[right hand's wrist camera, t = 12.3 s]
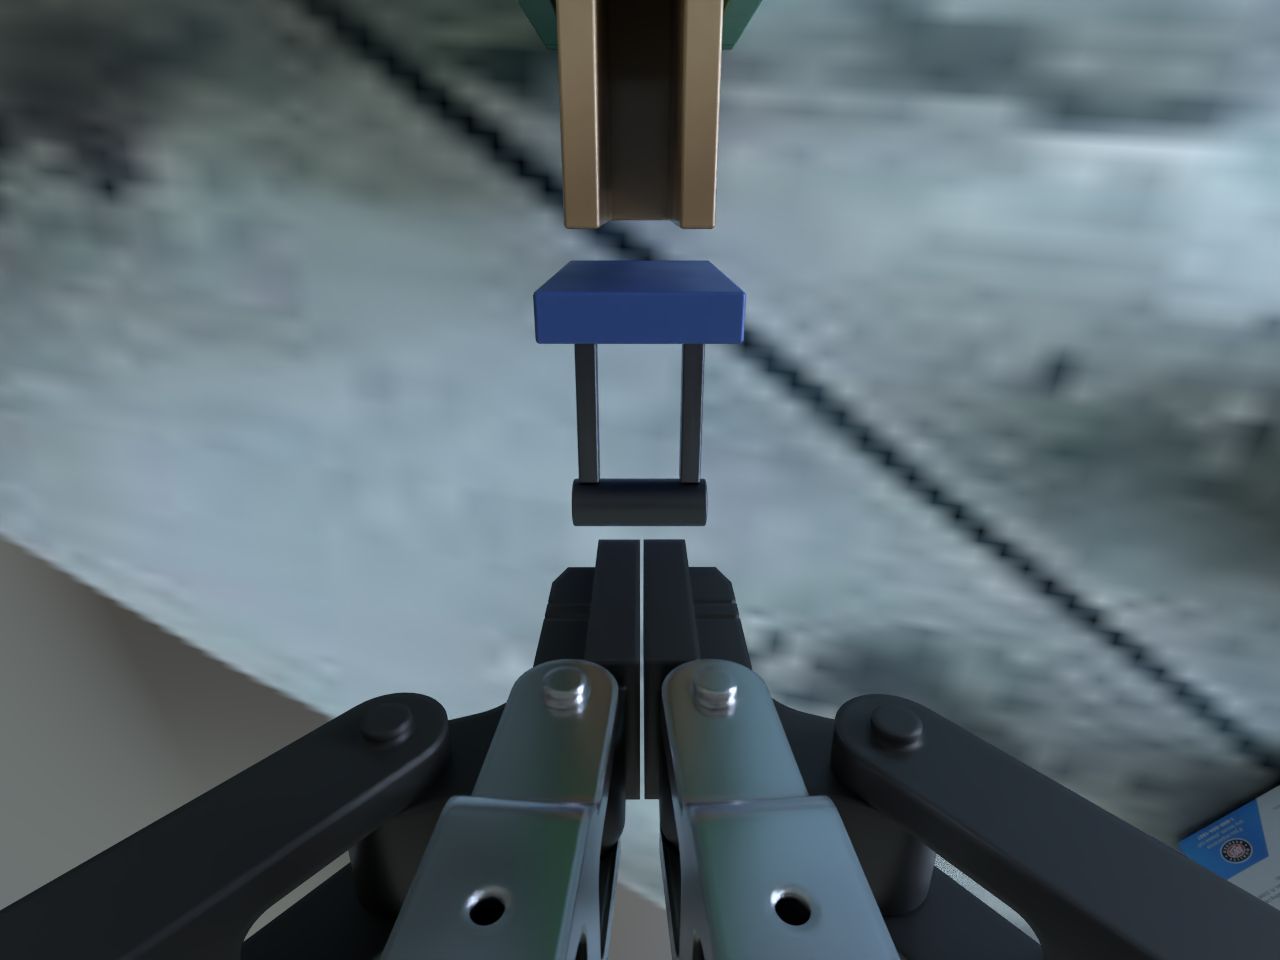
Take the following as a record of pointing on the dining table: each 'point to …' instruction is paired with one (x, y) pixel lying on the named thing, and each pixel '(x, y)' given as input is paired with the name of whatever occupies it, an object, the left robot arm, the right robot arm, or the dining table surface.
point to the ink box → (1243, 847)
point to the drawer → (639, 190)
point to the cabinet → (736, 16)
